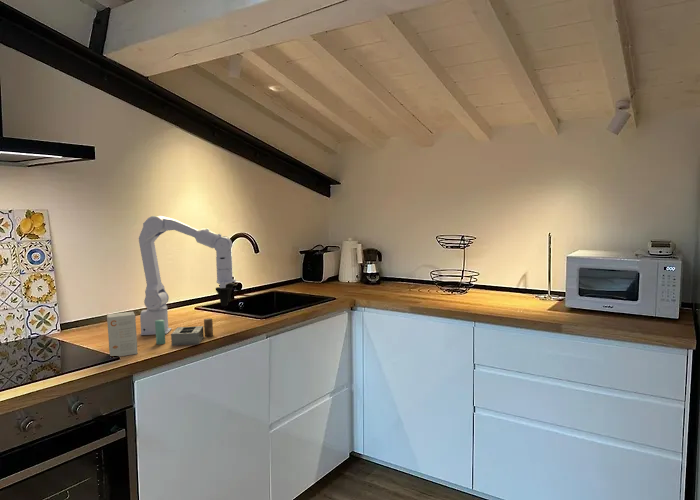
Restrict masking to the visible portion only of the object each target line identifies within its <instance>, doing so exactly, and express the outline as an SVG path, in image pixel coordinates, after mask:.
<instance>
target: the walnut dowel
mask: <svg viewBox="0 0 700 500" xmlns="http://www.w3.org/2000/svg"><path fill="white" fill-rule="evenodd" d="M213 328H214V326H213V318H210V317H209V318H204V319H203V332H204V337H213V336H214V329H213Z"/></svg>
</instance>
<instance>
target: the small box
mask: <svg viewBox="0 0 700 500" xmlns="http://www.w3.org/2000/svg"><path fill="white" fill-rule="evenodd" d="M106 318H107V319H106V324H107V334H108V335H107V337H108V348H109V351H108V352H109V356H119V357H125V356H131V355H137V354H138V352H139V351H138V339H137V338H138V335H137V324H136V323H137V322H136V314H135V313H134V311H126V312H117V313H108V314H106Z"/></svg>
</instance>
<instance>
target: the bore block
mask: <svg viewBox="0 0 700 500" xmlns="http://www.w3.org/2000/svg"><path fill="white" fill-rule="evenodd" d="M204 337H205V333H204V325H202V326H198V325H197V326H180V327H179V326H178V327H176V329H174V330H173V331H172V332H171V334H170V339H171V346H172V347H174V346H191V345H192V346H193V345H200V343H201V342H202V341H203V339H204Z"/></svg>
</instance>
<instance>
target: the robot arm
mask: <svg viewBox="0 0 700 500" xmlns="http://www.w3.org/2000/svg"><path fill="white" fill-rule="evenodd" d="M168 231H175V232H178V233H180V234H184V235H186V236H190V237H192V238H194V239H195V241H196V243H198V244H200V245H203V246H206V247H208V248H210V249H214V250H215V251H216V252H215V253H216V254H215V255H216V256H215V263H216V284H218V287H215V292H217V294H218V299H219V301H220V306H221V307H228V304H229V303H230V302H231V296H232V290H233V287H234V285H235V282H236V281H237V280H236V279H233V260H232V258H233V257H232V247H233V242H232V240H231V238H230V237H228V236H226V235H225V236H223V235H222V233H216V232H213V231H211V229H210V228H206V227H205V228H203V227H202V228H200V229H197V228H195V227H193V226H190V225H188V224H186V223H185V222H181V221H179V220H177V219H176V218H175V219H174V218H171V217H166V216H165V215H158V216H156V215H152V216H150V217H148V218H147V219H146V220H145V221H144V222H143V223H142V229H141V231H140V233H139V236H138V243H139V248H140V255H141V261H142V266H143V267H142V268H143V273H144V277H145V282H146V283H145V284H146V287H145V290H144V292H145V297H144V299H143V300H144V301H143V302H144V306H145V307H146V309H143V310H141V312H140V316H139V317H140V319H139V320H140V336H152V335H155V336H156V329H155V321H156V320H164V324H165V335H167V334H168V333H169V332H170V331H171V330H172V327H169V318H168V317H169V313H168V312H169V311H168V306H167V303H168V302H169V299H170V296H169V294H168V293H167V291H166V289H165V286H164V284H163V283H162V277H161V273H160V267H159V261H158V256H157V255H158V254H157V250H156V245H155V242H156V240H157V239H158V238H159V237H160V235H163V234H164V233H166V232H168Z"/></svg>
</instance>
